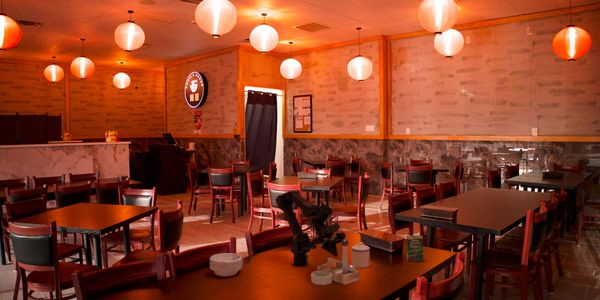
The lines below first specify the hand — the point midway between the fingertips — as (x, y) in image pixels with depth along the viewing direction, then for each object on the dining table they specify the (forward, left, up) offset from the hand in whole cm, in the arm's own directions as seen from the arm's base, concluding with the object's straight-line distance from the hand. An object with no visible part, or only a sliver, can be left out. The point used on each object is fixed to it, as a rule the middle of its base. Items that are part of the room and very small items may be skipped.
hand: (336, 256), depth 199 cm
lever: (0, +3, -6) cm, 7 cm away
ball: (-3, +3, -5) cm, 6 cm away
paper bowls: (-52, -10, -11) cm, 54 cm away
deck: (0, +3, -11) cm, 11 cm away
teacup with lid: (+4, +25, -11) cm, 28 cm away
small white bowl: (-6, -5, -11) cm, 13 cm away
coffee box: (+29, +41, -11) cm, 52 cm away
